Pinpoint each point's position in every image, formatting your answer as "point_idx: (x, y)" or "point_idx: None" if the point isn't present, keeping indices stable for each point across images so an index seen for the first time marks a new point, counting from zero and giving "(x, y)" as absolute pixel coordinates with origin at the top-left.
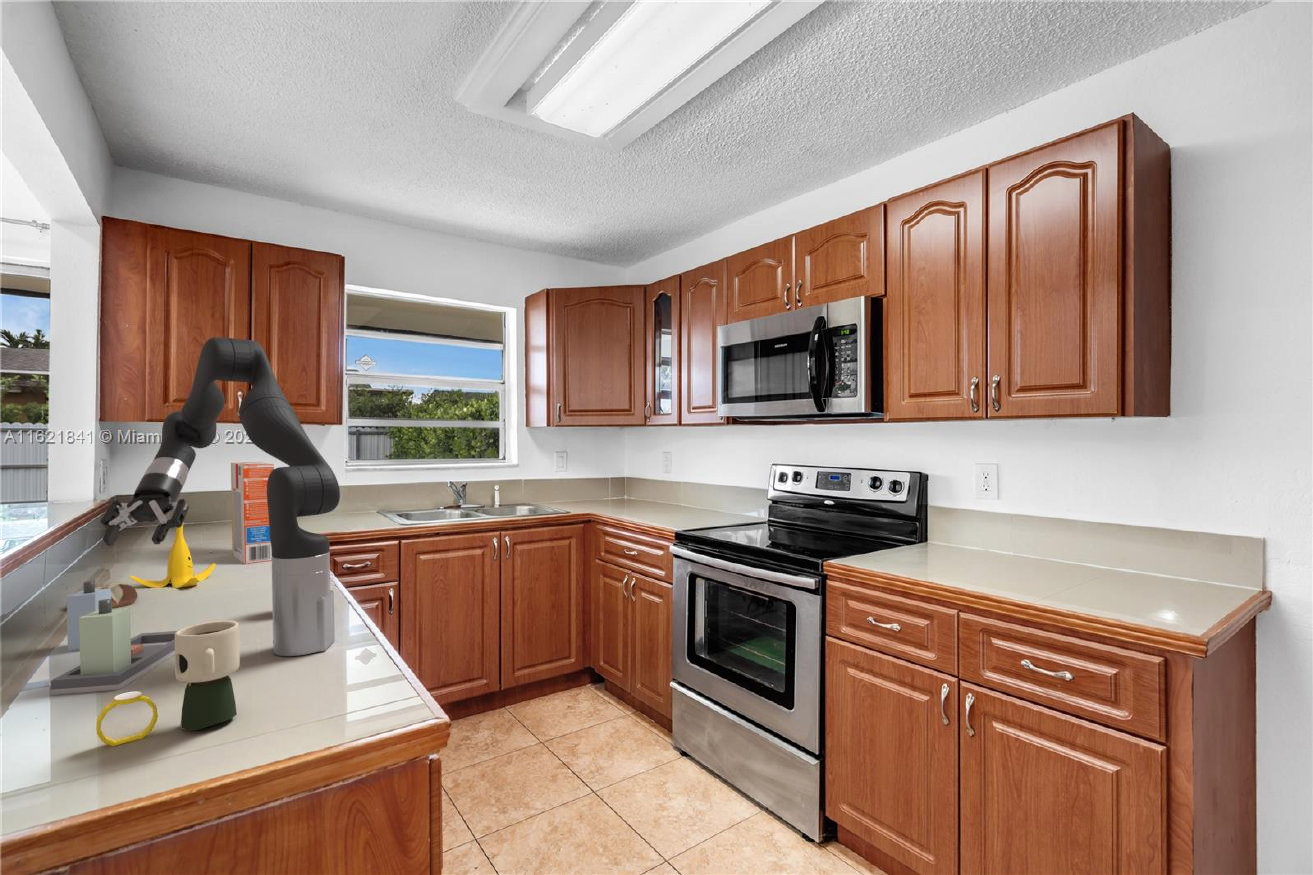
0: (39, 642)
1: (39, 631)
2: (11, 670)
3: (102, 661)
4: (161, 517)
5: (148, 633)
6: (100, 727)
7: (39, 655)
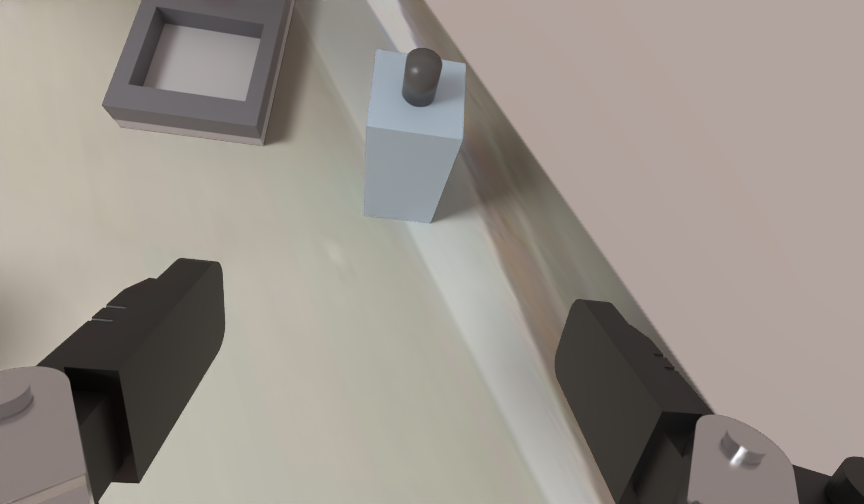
0: (554, 267)
1: None
2: (471, 68)
3: None
4: (6, 488)
5: (235, 117)
6: None
7: (479, 151)
